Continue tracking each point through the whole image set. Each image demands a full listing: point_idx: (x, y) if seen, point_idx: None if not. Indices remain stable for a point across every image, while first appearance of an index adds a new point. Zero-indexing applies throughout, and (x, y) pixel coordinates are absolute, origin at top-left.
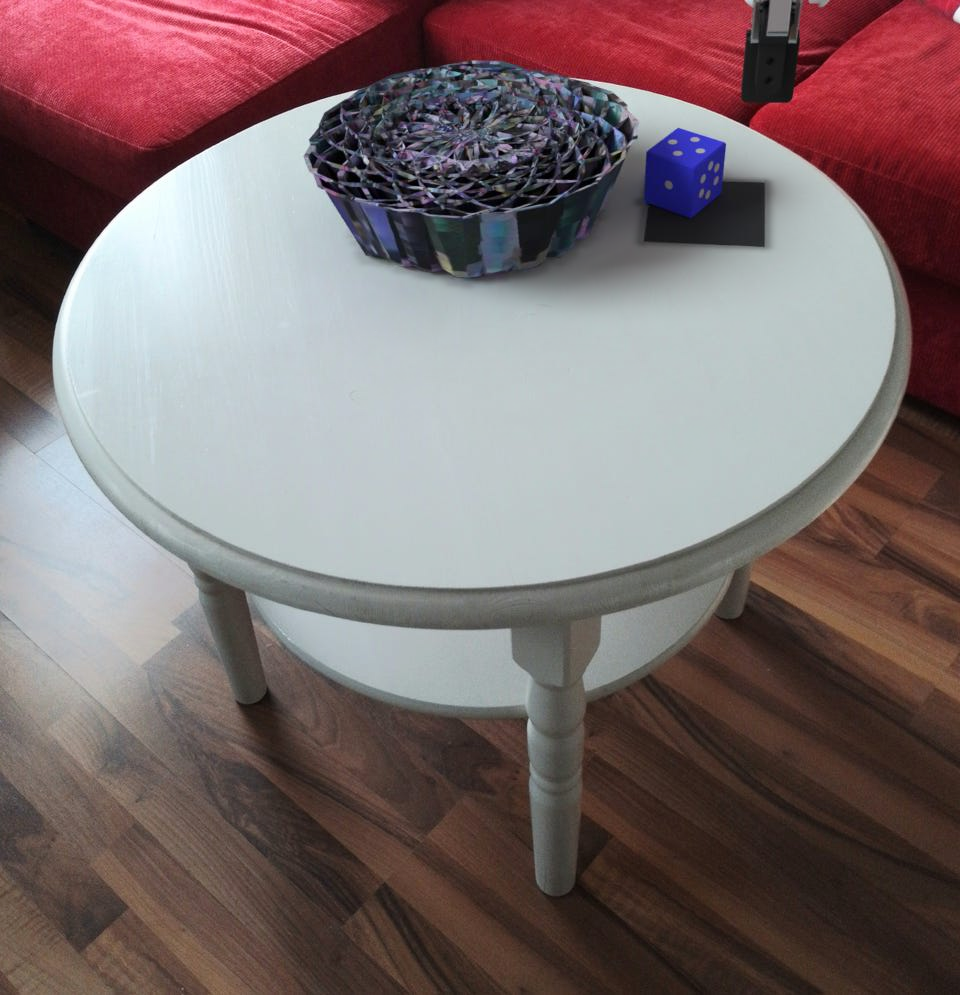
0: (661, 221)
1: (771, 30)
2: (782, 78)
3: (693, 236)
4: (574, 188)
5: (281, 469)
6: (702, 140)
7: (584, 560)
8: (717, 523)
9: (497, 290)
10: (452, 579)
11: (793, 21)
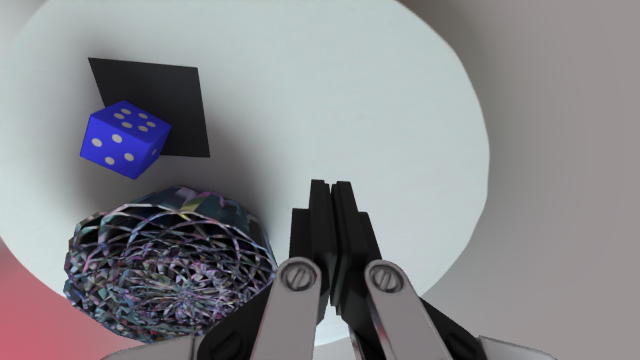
0: (181, 146)
1: None
2: (371, 225)
3: (196, 124)
4: (246, 239)
5: None
6: (95, 136)
7: (481, 180)
8: (478, 119)
9: (275, 229)
10: (473, 224)
11: (473, 344)
